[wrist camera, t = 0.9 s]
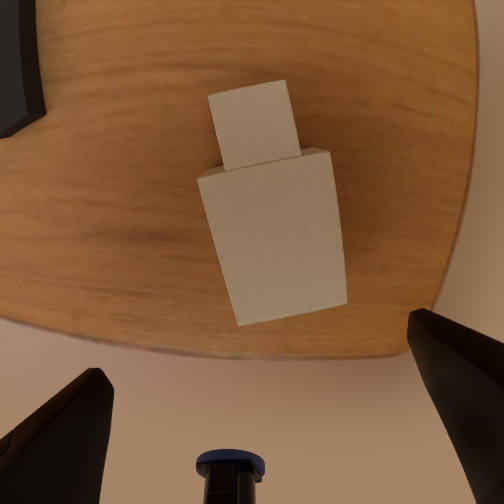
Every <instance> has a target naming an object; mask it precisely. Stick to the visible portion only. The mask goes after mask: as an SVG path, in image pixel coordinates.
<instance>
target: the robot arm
mask: <svg viewBox="0 0 504 504" xmlns="http://www.w3.org/2000/svg"><path fill="white" fill-rule="evenodd" d="M407 340H408V343H409V346H410V348H411V351H412V353H413V356H414V358H415V361H416V364H417V366H418V369H419V371H420V374H421V377H422V379H423V382H424V385H425V387H426V389H427V391H428V393H429V395H430V397H431V399H432V401H433V403H434V405H435V407H436V409H437V411H438V413H439V415H440V418H441V419H442V422H443V424H444V426H445V428H446V430H447V433H448V435H449V437H450V439H451V441H452V444H453V446H454V448H455V451H456V453H457V455H458V458H459V460H460V462H461V465H462V467H463V469H464V472H465V474H466V477H467V480H468V482H469V484H470V487H471V490H472V492H473V495H474V498H475V500H476V504H504V343H502V342H500V341H498V340H495V339H493V338H491V337H489V336H486V335H484V334H482V333H480V332H477V331H475V330H473V329H471V328H468V327H466V326H464V325H461V324H459V323H457V322H455V321H452V320H450V319H448V318H445V317H443V316H441V315H438V314H436V313H434V312H432V311H429V310H427V309H424V308H420V309H417V310H414V311H411V312H410V313H409V317H408V329H407ZM113 400H114V388H113V386H112V384H111V383H110V381H109V379H108V378H107V376H106V375H105V373H104V372H103V371H102V370H101V369H100V368H89V369H87V370H86V371H84V372H83V373H82V374H81V375H79V376H78V377H77V378H76V379H74V380H73V381H72V382H71V383H69V384H68V385H67V386H66V387H64V388H63V389H62V390H61V391H59V392H58V393H57V394H56V395H55V396H53V397H52V398H51V399H50V400H48V401H47V402H46V403H45V404H43V405H42V406H41V407H40V408H38V409H37V410H36V411H35V412H34V413H32V414H31V415H30V416H29V417H27V418H26V419H25V420H24V421H23V422H21V423H20V424H19V425H18V426H16V427H15V428H14V430H11V431H10V432H9V433H8V434H7V435H5V436H4V437H3V438H1V439H0V504H99V500H100V492H101V484H102V478H103V471H104V465H105V459H106V453H107V448H108V442H109V436H110V429H111V419H112V409H113ZM196 467H197V468H198V469H199V471H200V472H201V473H202V474H203V475H204V476H205V488H204V501H203V504H256V500H255V483H259V482H262V477H261V475H260V473H259V471H258V470H257V468H256V466H255V464H254V462H253V460H252V459H240V460H227V461H208V462H196Z"/></svg>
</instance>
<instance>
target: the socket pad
mask: <svg viewBox="0 0 504 504" xmlns="http://www.w3.org/2000/svg"><path fill="white" fill-rule="evenodd" d="M44 115H46V110H45V105H44V99H43V93H42V86H41V79H40V72H39V63H38V54H37V42H36V26H35V0H0V139H2V138H8V137H10V136H12V135H13V134H15V133H16V132H18V131H19V130H21V129H23V128H24V127H26V126H27V125H29V124H31V123H32V122H34V121H36V120H37V119H39V118H41V117H43V116H44Z"/></svg>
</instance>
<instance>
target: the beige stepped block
mask: <svg viewBox="0 0 504 504" xmlns="http://www.w3.org/2000/svg"><path fill="white" fill-rule="evenodd" d="M208 101H209V105H210V109H211V114H212V118H213V122H214V126H215V131H216V135H217V139H218V143H219V147H220V151H221V156H222V160H223V164H224V165H222V166H218V167H214V168H210V169H207V170H205V171H204V172H203V173H202V175H201V176H200V177H199V178H198V179H197V181H198V185H199V189H200V193H201V197H202V200H203V204H204V208H205V212H206V215H207V219H208V223H209V226H210V230H211V233H212V237H213V241H214V244H215V248H216V251H217V255H218V258H219V262H220V266H221V269H222V272H223V276H224V279H225V283H226V286H227V290H228V293H229V297H230V300H231V303H232V307H233V310H234V313H235V317H236V320H237V323H238V326H243V325H248V324H254V323H259V322H265V321H270V320H275V319H280V318H285V317H290V316H295V315H300V314H304V313H309V312H314V311H318V310H323V309H327V308H332V307H336V306H340V305H344V304H347V303H348V298H347V284H346V272H345V261H344V250H343V241H342V232H341V223H340V215H339V207H338V200H337V193H336V186H335V179H334V173H333V166H332V160H331V154H330V152H329V151H326V150H323V149H319V148H316V147H311V148H305V149H300V145H299V140H298V135H297V130H296V125H295V120H294V115H293V111H292V106H291V102H290V97H289V93H288V89H287V84H286V81H285V80H279V81H273V82H267V83H261V84H256V85H251V86H246V87H241V88H236V89H232V90H228V91H223V92H219V93H215V94H211V95H208Z"/></svg>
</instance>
